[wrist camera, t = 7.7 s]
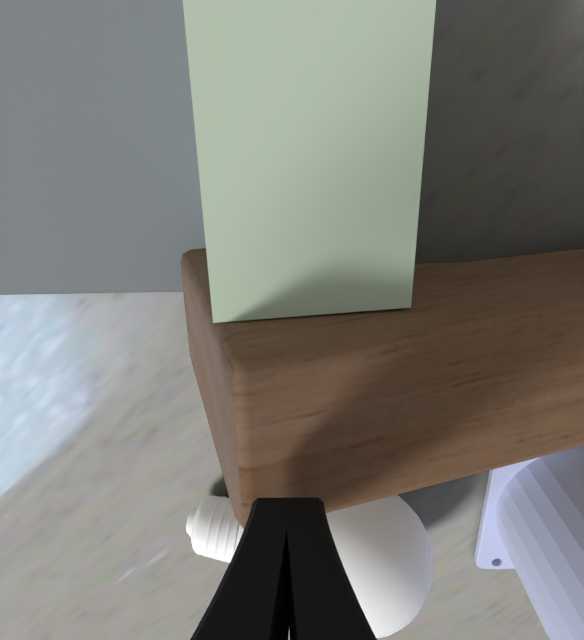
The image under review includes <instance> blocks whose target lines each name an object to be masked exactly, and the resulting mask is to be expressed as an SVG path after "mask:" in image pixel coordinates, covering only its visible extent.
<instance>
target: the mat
mask: <svg viewBox="0 0 584 640" xmlns="http://www.w3.org/2000/svg"><path fill="white" fill-rule="evenodd" d="M201 248H206V243H205V232H204V222H203V211H202V201H201V190H200V179H199V169H198V158H197V147H196V137H195V126H194V116H193V105H192V94H191V84H190V73H189V63H188V52H187V41H186V31H185V20H184V10H183V0H0V295H14V294H71V293H128V292H183V283H182V274H181V264H180V261H181V258H182V255H183V253H185V252H187V251H189V250H191V249H201Z"/></svg>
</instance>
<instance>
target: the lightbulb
mask: <svg viewBox="0 0 584 640" xmlns="http://www.w3.org/2000/svg"><path fill="white" fill-rule="evenodd" d="M326 517H327V521H328V524H329V528H330V531H331V534H332V537H333V540H334V543H335V546H336V548H337V551H338V554H339V557H340V559H341V562H342V564H343V567H344V569H345V572H346V574H347V576H348V579H349V581H350V583H351V585H352V588H353V590H354V592H355V595H356V597H357V599H358V602H359V604H360V606H361V608H362V610H363V612H364V614H365V617H366V619H367V621H368V623H369V625H370V627H371V629H372V631H373V633H374V635H375V637H376V638H381V637H386V636H389V635H391V634H393V633H395V632H397V631H399V630H401V629H402V628H404V627H405V626H406V625H408V624H409V623H410V622H411V621H412V620H413V619H414V618H415V616H416V615H417V614H418V612H419V611H420V610H421V608H422V607H423V605H424V603H425V601H426V599H427V597H428V595H429V591H430V587H431V583H432V578H433V555H432V547H431V544H430V541H429V538H428V535H427V532H426V530H425V528H424V526H423V524H422V522H421V520H420V518H419V516H418V515H417V514H416V513H415V512H414V510H413V509H412V508H411V507H410V506H409V505H408V504H407V503H406V502H405V501H404V500H403V499H402V498H401V497H399V496H398V495H394V496H390V497H386V498H383V499H379V500H375V501H371V502H367V503H363V504H360V505H356V506H352V507H348V508H344V509H341V510H337V511H333V512H329V513H326ZM186 531H187V533H188V534H189V535H190V537H191V542H192V547H193V550H194V551H195V552H196V553H197V554H200V555H203V556H205V557H211V558H213V559H218V560H221V561H223V562H229V563H230V562H231V560H232V557H233V555H234V553H235V550H236V548H237V546H238V543H239V541H240V539H241V536H242V534H243V531H244V529H243V528H242V526H241V525H240V524H239V522H238V521H237V520H236V518H235V516H234V513H233V509H232V505H231V502H230V498H227V497H224V496H222V497H219V496H212V495H210V496H208V497H206V498H205V499H204V500H203V501H202V503H201V504H200V506H199V507H198V508H195V509H193V510H192V511H191V512H190V514H189V517H188V519H187V525H186Z"/></svg>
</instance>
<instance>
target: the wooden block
mask: <svg viewBox="0 0 584 640" xmlns="http://www.w3.org/2000/svg"><path fill="white" fill-rule="evenodd" d="M180 264H181V274H182V283H183V292H184V302H185V311H186V320H187V330H188V339H189V349H190V357H191V361H192V365H193V368H194V372H195V375H196V379H197V383H198V386H199V390H200V393H201V397H202V401H203V404H204V408H205V411H206V415H207V419H208V422H209V426H210V429H211V433H212V437H213V440H214V444H215V447H216V451H217V455H218V458H219V462H220V466H221V469H222V473H223V476H224V480H225V484H226V487H227V491H228V494H229V498H230V502H231V505H232V509H233V513H234V516H235V518H236V520H237V521H238V522H239V524H240V525H241V526H242V528H243V529H244V528H245V526H246V523H247V520H248V517H249V514H250V511H251V507H252V503H253V502H254V501H255V500H256V499H257V498H297V497H318V498H319V499H321V500H322V501H323V502H324V508H325V513H329V512H333V511H337V510H341V509H344V508H348V507H352V506H356V505H360V504H363V503H367V502H371V501H375V500H379V499H383V498H386V497H390V496H394V495H398V494H402V493H405V492H409V491H413V490H417V489H421V488H424V487H428V486H432V485H436V484H440V483H443V482H447V481H451V480H455V479H459V478H462V477H466V476H470V475H474V474H478V473H481V472H485V471H489V470H493V469H497V468H500V467H504V466H508V465H512V464H516V463H519V462H523V461H527V460H531V459H535V458H538V457H542V456H546V455H550V454H554V453H557V452H561V451H565V450H569V449H573V448H576V447H580V446H584V248H583V249H574V250H565V251H557V252H548V253H539V254H530V255H521V256H512V257H504V258H495V259H486V260H477V261H468V262H453V263H415V265H414V277H413V289H412V301H411V308H399V309H386V310H373V311H360V312H347V313H334V314H321V315H308V316H295V317H282V318H270V319H257V320H244V321H231V322H218V323H213V317H212V307H211V296H210V285H209V275H208V264H207V254H206V248H201V249H191V250H189V251H187V252H185V253H183V255H182V258H181V261H180Z"/></svg>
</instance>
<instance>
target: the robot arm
mask: <svg viewBox="0 0 584 640" xmlns="http://www.w3.org/2000/svg"><path fill="white" fill-rule="evenodd" d="M474 558H475V562H476V564H477V566H478V567H480V568H482V569H516V571H517V574H518V576H519V578H520V580H521V582H522V584H523V586H524V588H525V590H526V592H527V594H528V596H529V598H530V600H531V602H532V604H533V607H534V609H535V611H536V613H537V615H538V617H539V619H540V621H541V623H542V625H543V627H544V629H545V631H546V633H547V635H548V637H549V639H550V640H584V446H580V447H576V448H573V449H569V450H565V451H561V452H557V453H554V454H550V455H546V456H542V457H538V458H535V459H531V460H527V461H523V462H519V463H516V464H512V465H508V466H504V467H500V468H497V469H493V470H490V471H489V477H488V482H487V488H486V494H485V499H484V505H483V511H482V516H481V522H480V527H479V533H478V539H477V544H476V550H475V556H474ZM289 629H290V640H377V639H376V637H375V635H374V633H373V631H372V629H371V627H370V625H369V623H368V621H367V619H366V617H365V614H364V612H363V610H362V608H361V606H360V604H359V602H358V599H357V597H356V595H355V592H354V590H353V588H352V585H351V583H350V581H349V579H348V576H347V574H346V572H345V569H344V567H343V564H342V562H341V559H340V557H339V554H338V551H337V548H336V546H335V543H334V540H333V537H332V534H331V531H330V528H329V524H328V521H327V517H326V513H325V508H324V502H323V501H322V500H321V499H319V498H318V497H297V498H257V499H256V500H255V501H254V502H253V503H252V507H251V511H250V514H249V517H248V520H247V523H246V526H245V528H244V531H243V534H242V536H241V539H240V541H239V543H238V546H237V548H236V550H235V553H234V555H233V557H232V560H231V562H230V564H229V566H228V568H227V570H226V572H225V574H224V576H223V579H222V581H221V583H220V585H219V587H218V589H217V591H216V593H215V595H214V597H213V599H212V601H211V603H210V605H209V607H208V608H207V610H206V612H205V614H204V616H203V618H202V619H201V621H200V623H199V625H198V627H197V629H196V630H195V632H194V634H193V636H192V638H191V640H288V632H289Z"/></svg>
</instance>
